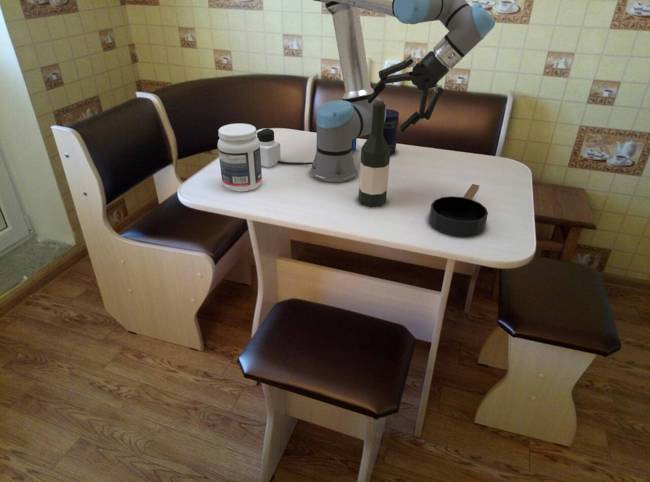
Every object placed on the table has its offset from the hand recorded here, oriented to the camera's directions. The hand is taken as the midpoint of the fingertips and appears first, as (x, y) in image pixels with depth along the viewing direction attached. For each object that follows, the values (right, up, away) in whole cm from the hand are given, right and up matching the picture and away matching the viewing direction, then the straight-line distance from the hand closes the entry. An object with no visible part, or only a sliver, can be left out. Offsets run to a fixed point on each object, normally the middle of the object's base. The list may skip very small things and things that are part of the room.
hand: (385, 115), depth 133 cm
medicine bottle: (-39, -9, +29) cm, 49 cm away
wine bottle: (-3, -25, +4) cm, 26 cm away
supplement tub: (-44, -19, +13) cm, 50 cm away
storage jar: (+4, -3, +40) cm, 40 cm away
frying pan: (+22, -30, -2) cm, 37 cm away
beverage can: (-9, -3, +40) cm, 41 cm away
